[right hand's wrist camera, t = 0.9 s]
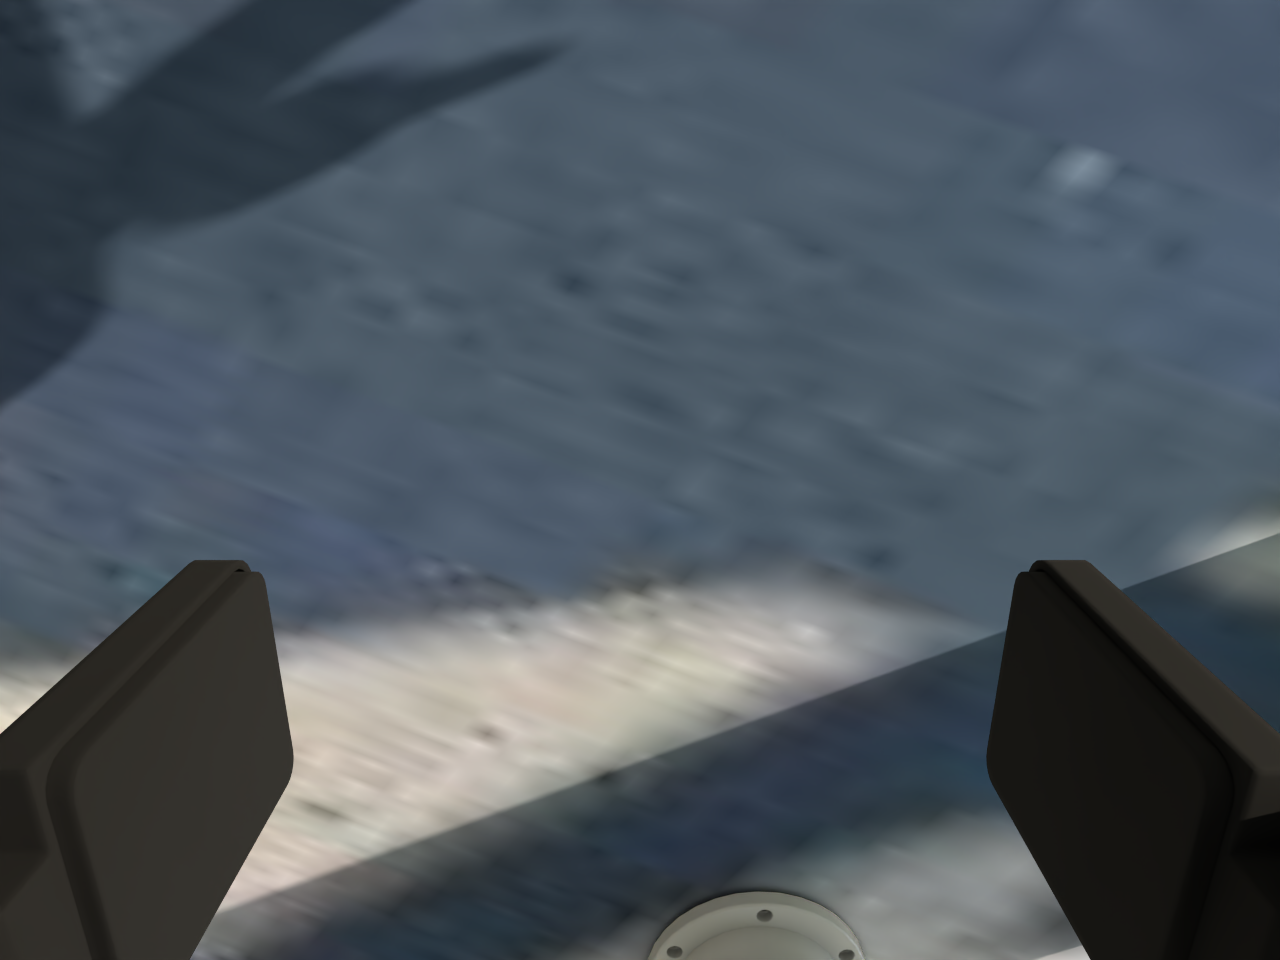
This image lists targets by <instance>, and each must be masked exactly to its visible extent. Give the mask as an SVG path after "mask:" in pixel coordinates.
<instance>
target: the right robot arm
mask: <svg viewBox="0 0 1280 960" xmlns="http://www.w3.org/2000/svg"><path fill="white" fill-rule="evenodd" d="M292 769H293V747H292V741H291V735H290V729H289V723H288V717H287V711H286V705H285V699H284V693H283V687H282V681H281V675H280V669H279V662H278V656H277V650H276V644H275V638H274V632H273V626H272V620H271V614H270V608H269V602H268V596H267V590H266V584H265V580H264V578H263V576H262V574H261V573H259V572H251V570H250V568H249V566H248V564H247V563H245V562H244V561H242V560H194V561H193V562H191V563H189V564H188V565H187V566H186V567H185V568H184V569H183V570H182V571H180V572H179V573H178V574H177V575H176V576H175V577H174V578H173V579H172V580H170V581H169V582H168V583H167V584H166V585H165V586H164V587H163V588H162V589H160V590H159V591H158V592H157V593H156V594H155V595H154V596H153V597H152V598H151V599H149V600H148V601H147V602H146V603H145V604H144V605H143V606H142V607H141V608H139V609H138V610H137V611H136V612H135V613H134V614H133V615H132V616H131V617H129V618H128V619H127V620H126V621H125V622H124V623H123V624H122V625H121V626H120V627H118V628H117V629H116V630H115V631H114V632H113V633H112V634H111V635H110V636H108V637H107V638H106V639H105V640H104V641H103V642H102V643H101V644H100V645H98V646H97V647H96V648H95V649H94V650H93V651H92V652H91V653H90V654H89V655H87V656H86V657H85V658H84V659H83V660H82V661H81V662H80V663H79V664H77V665H76V666H75V667H74V668H73V669H72V670H71V671H70V672H69V673H67V674H66V675H65V676H64V677H63V678H62V679H61V680H60V681H59V682H58V683H56V684H55V685H54V686H53V687H52V688H51V689H50V690H49V691H48V692H46V693H45V694H44V695H43V696H42V697H41V698H40V699H39V700H38V701H36V702H35V703H34V704H33V705H32V706H31V707H30V708H29V709H28V710H27V711H25V712H24V713H23V714H22V715H21V716H20V717H19V718H18V719H17V720H15V721H14V722H13V723H12V724H11V725H10V726H9V727H8V728H7V729H5V730H4V731H3V732H2V733H1V734H0V960H189V959H190V958H191V956H192V954H193V952H194V951H195V949H196V947H197V945H198V943H199V942H200V940H201V938H202V936H203V935H204V933H205V931H206V929H207V927H208V926H209V924H210V922H211V920H212V918H213V917H214V915H215V913H216V911H217V910H218V908H219V906H220V904H221V902H222V901H223V899H224V897H225V895H226V894H227V892H228V890H229V888H230V886H231V885H232V883H233V881H234V879H235V877H236V876H237V874H238V872H239V870H240V869H241V867H242V865H243V863H244V861H245V860H246V858H247V856H248V854H249V853H250V851H251V849H252V847H253V845H254V844H255V842H256V840H257V838H258V836H259V835H260V833H261V831H262V829H263V828H264V826H265V824H266V822H267V820H268V819H269V817H270V815H271V813H272V812H273V810H274V808H275V806H276V804H277V803H278V801H279V799H280V797H281V795H282V794H283V792H284V790H285V788H286V787H287V785H288V782H289V780H290V777H291V774H292ZM987 769H988V774H989V777H990V780H991V782H992V785H993V787H994V788H995V790H996V792H997V794H998V795H999V797H1000V799H1001V801H1002V803H1003V804H1004V806H1005V808H1006V810H1007V812H1008V813H1009V815H1010V817H1011V819H1012V820H1013V822H1014V824H1015V826H1016V828H1017V829H1018V831H1019V833H1020V835H1021V836H1022V838H1023V840H1024V842H1025V844H1026V845H1027V847H1028V849H1029V851H1030V853H1031V854H1032V856H1033V858H1034V860H1035V861H1036V863H1037V865H1038V867H1039V869H1040V870H1041V872H1042V874H1043V876H1044V877H1045V879H1046V881H1047V883H1048V885H1049V886H1050V888H1051V890H1052V892H1053V894H1054V895H1055V897H1056V899H1057V901H1058V902H1059V904H1060V906H1061V908H1062V910H1063V911H1064V913H1065V915H1066V917H1067V918H1068V920H1069V922H1070V924H1071V926H1072V927H1073V929H1074V931H1075V933H1076V935H1077V936H1078V938H1079V940H1080V942H1081V943H1082V945H1083V947H1084V949H1085V951H1086V952H1087V954H1088V956H1089V958H1090V959H1091V960H1280V734H1279V733H1278V732H1277V731H1276V730H1275V729H1273V728H1272V727H1271V726H1270V725H1269V724H1268V723H1267V722H1266V721H1265V720H1263V719H1262V718H1261V717H1260V716H1259V715H1258V714H1257V713H1256V712H1255V711H1253V710H1252V709H1251V708H1250V707H1249V706H1248V705H1247V704H1246V703H1245V702H1244V701H1242V700H1241V699H1240V698H1239V697H1238V696H1237V695H1236V694H1235V693H1234V692H1232V691H1231V690H1230V689H1229V688H1228V687H1227V686H1226V685H1225V684H1224V683H1222V682H1221V681H1220V680H1219V679H1218V678H1217V677H1216V676H1215V675H1214V674H1213V673H1211V672H1210V671H1209V670H1208V669H1207V668H1206V667H1205V666H1204V665H1203V664H1201V663H1200V662H1199V661H1198V660H1197V659H1196V658H1195V657H1194V656H1193V655H1191V654H1190V653H1189V652H1188V651H1187V650H1186V649H1185V648H1184V647H1183V646H1182V645H1180V644H1179V643H1178V642H1177V641H1176V640H1175V639H1174V638H1173V637H1172V636H1170V635H1169V634H1168V633H1167V632H1166V631H1165V630H1164V629H1163V628H1162V627H1160V626H1159V625H1158V624H1157V623H1156V622H1155V621H1154V620H1153V619H1152V618H1151V617H1149V616H1148V615H1147V614H1146V613H1145V612H1144V611H1143V610H1142V609H1141V608H1139V607H1138V606H1137V605H1136V604H1135V603H1134V602H1133V601H1132V600H1131V599H1129V598H1128V597H1127V596H1126V595H1125V594H1124V593H1123V592H1122V591H1121V590H1120V589H1118V588H1117V587H1116V586H1115V585H1114V584H1113V583H1112V582H1111V581H1110V580H1108V579H1107V578H1106V577H1105V576H1104V575H1103V574H1102V573H1101V572H1100V571H1098V570H1097V569H1096V568H1095V567H1094V566H1093V565H1092V564H1091V563H1089V562H1087V561H1086V560H1038V561H1036V562H1035V563H1033V564H1032V566H1031V568H1030V570H1029V572H1021V573H1019V574H1018V576H1017V578H1016V580H1015V584H1014V590H1013V596H1012V602H1011V608H1010V614H1009V620H1008V626H1007V632H1006V638H1005V644H1004V650H1003V656H1002V662H1001V668H1000V675H999V681H998V687H997V693H996V699H995V705H994V711H993V717H992V723H991V729H990V735H989V741H988V747H987ZM648 960H865V959H864V955H863V952H862V949H861V947H860V944H859V941H858V939H857V938H856V936H855V935H854V934H853V932H852V931H851V929H850V928H849V926H848V925H846V924H845V923H844V922H843V921H842V920H841V919H840V918H839V917H838V916H837V915H836V914H834V913H832V912H831V911H829V910H828V909H826V908H824V907H823V906H821V905H819V904H817V903H814V902H812V901H809V900H807V899H804V898H801V897H798V896H793V895H788V894H784V893H777V892H759V891H757V892H745V893H736V894H731V895H727V896H723V897H719V898H715V899H713V900H710V901H708V902H705V903H703V904H701V905H698V906H696V907H694V908H692V909H691V910H689V911H688V912H686V913H684V914H683V915H681V916H680V917H678V918H677V919H676V920H675V921H674V922H673V923H672V924H670V925H669V926H668V927H667V928H666V929H665V930H664V931H663V933H662V934H661V935H660V937H659V938H658V940H657V941H656V942H655V944H654V946H653V948H652V950H651V953H650V955H649V957H648Z"/></svg>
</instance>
